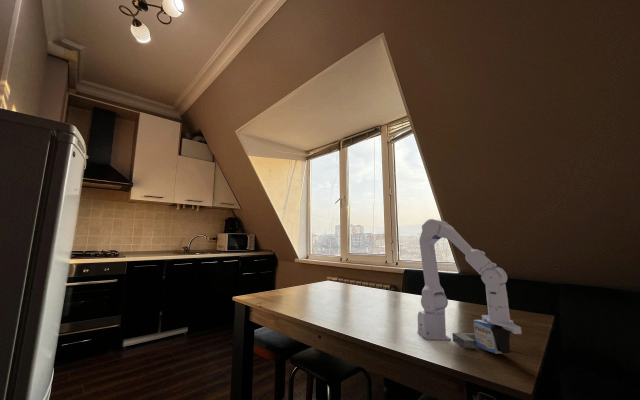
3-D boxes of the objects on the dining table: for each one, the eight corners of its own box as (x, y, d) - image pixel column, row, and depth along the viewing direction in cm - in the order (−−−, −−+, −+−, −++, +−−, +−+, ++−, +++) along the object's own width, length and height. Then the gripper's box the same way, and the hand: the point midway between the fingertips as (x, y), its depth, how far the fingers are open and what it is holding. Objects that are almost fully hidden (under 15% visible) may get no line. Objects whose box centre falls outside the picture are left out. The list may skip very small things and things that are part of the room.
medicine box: (476, 347, 90) (472, 319, 92) (486, 346, 91) (482, 319, 93) (495, 354, 82) (491, 324, 84) (507, 353, 83) (502, 323, 85)
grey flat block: (464, 348, 88) (464, 340, 89) (452, 340, 95) (452, 333, 96) (506, 348, 89) (506, 340, 89) (492, 340, 96) (491, 333, 97)
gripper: (528, 310, 78) (535, 361, 75) (493, 301, 92) (498, 343, 89) (505, 311, 77) (511, 361, 75) (474, 301, 91) (478, 343, 89)
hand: (503, 351), depth 82 cm, fingers closed, pressing on medicine box
